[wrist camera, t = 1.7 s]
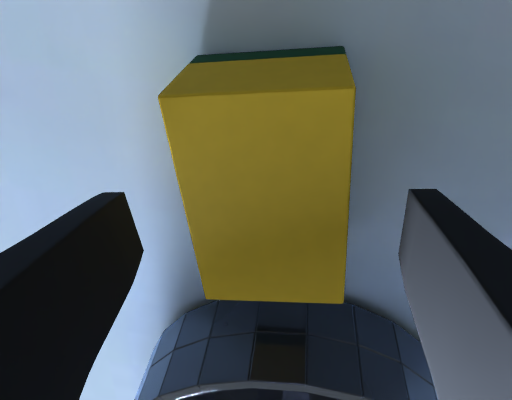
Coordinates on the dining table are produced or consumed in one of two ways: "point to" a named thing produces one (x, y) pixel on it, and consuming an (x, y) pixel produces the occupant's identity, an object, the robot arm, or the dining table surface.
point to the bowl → (286, 355)
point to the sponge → (265, 170)
